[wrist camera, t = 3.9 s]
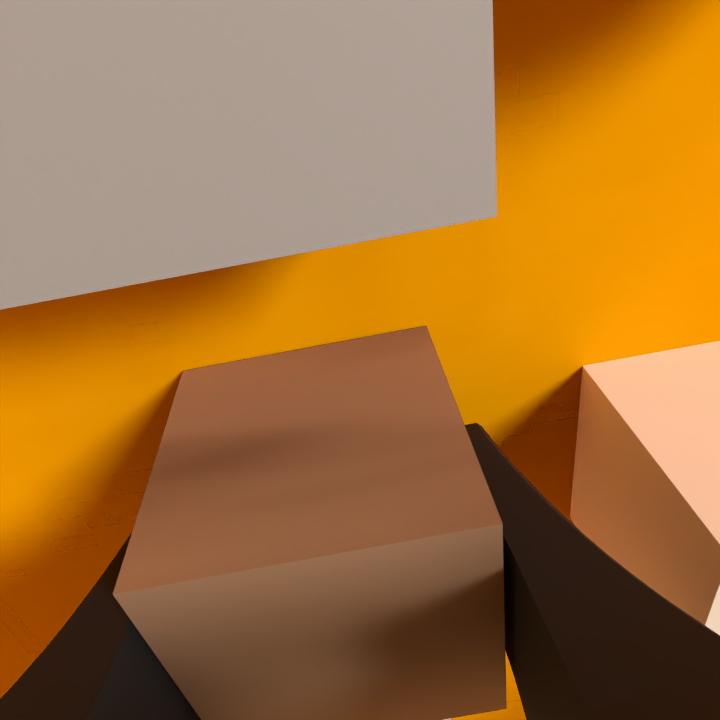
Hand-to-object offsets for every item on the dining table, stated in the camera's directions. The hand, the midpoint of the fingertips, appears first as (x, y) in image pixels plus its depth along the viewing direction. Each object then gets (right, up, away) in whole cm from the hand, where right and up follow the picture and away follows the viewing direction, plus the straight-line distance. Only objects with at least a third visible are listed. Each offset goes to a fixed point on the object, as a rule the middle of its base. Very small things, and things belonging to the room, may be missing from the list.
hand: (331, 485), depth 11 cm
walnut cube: (0, +1, +1) cm, 1 cm away
